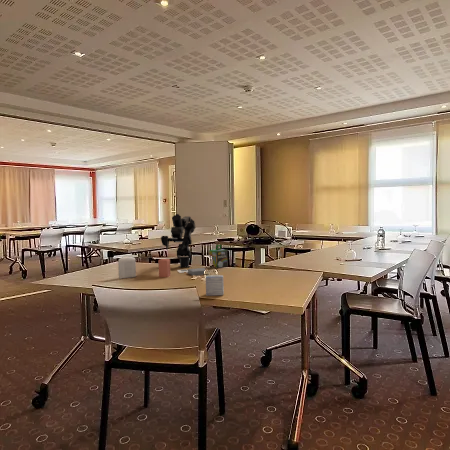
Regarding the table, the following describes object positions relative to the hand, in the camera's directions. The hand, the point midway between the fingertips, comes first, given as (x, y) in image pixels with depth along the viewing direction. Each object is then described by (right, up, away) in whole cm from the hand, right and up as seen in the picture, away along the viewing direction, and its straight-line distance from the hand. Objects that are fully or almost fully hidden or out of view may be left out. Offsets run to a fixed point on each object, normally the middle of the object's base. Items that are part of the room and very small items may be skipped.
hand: (173, 249), depth 234 cm
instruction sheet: (+8, -14, +10) cm, 19 cm away
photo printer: (-26, -16, -8) cm, 32 cm away
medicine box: (+27, -17, -58) cm, 66 cm away
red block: (-4, -16, -7) cm, 18 cm away
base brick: (+15, -15, -1) cm, 21 cm away
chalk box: (+27, -13, +24) cm, 39 cm away
